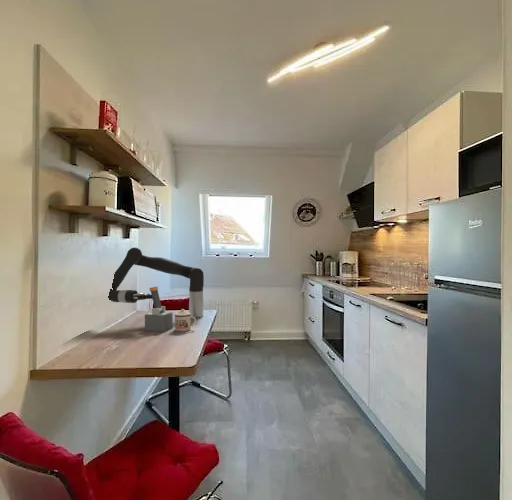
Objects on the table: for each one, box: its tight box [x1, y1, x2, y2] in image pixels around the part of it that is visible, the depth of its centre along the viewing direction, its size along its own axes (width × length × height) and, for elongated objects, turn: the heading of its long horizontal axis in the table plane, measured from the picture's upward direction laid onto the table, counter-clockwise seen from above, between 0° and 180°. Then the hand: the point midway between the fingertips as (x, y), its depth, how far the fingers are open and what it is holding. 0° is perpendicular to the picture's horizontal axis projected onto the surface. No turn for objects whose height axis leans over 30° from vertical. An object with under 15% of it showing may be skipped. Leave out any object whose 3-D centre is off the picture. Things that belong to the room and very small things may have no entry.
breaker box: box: [144, 305, 174, 333], centre depth 205 cm, size 12×10×13 cm
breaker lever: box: [148, 286, 163, 312], centre depth 205 cm, size 2×5×15 cm, turn 166°
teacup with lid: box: [174, 308, 197, 332], centre depth 203 cm, size 12×9×12 cm
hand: (154, 296), depth 206 cm, fingers closed
